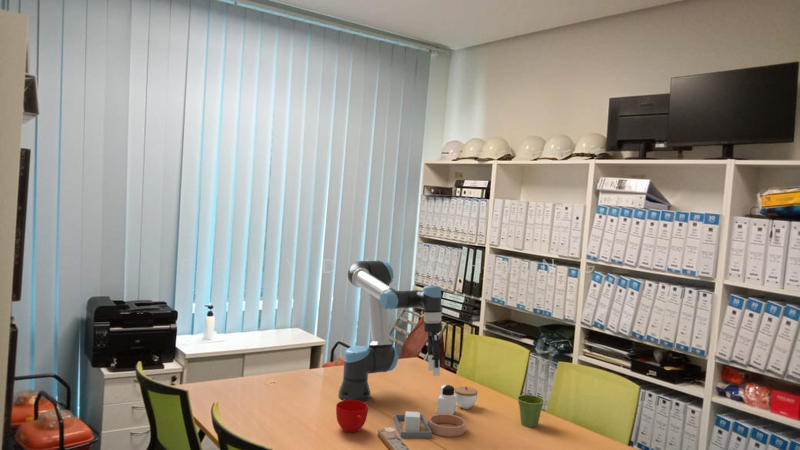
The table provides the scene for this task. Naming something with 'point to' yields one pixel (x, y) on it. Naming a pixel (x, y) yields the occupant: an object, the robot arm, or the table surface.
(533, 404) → the plant pot
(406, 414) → the white cube
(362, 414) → the ceramic cup
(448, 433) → the bowl
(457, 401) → the lidded jar
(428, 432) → the parts tray
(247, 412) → the table surface
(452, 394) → the medicine bottle
